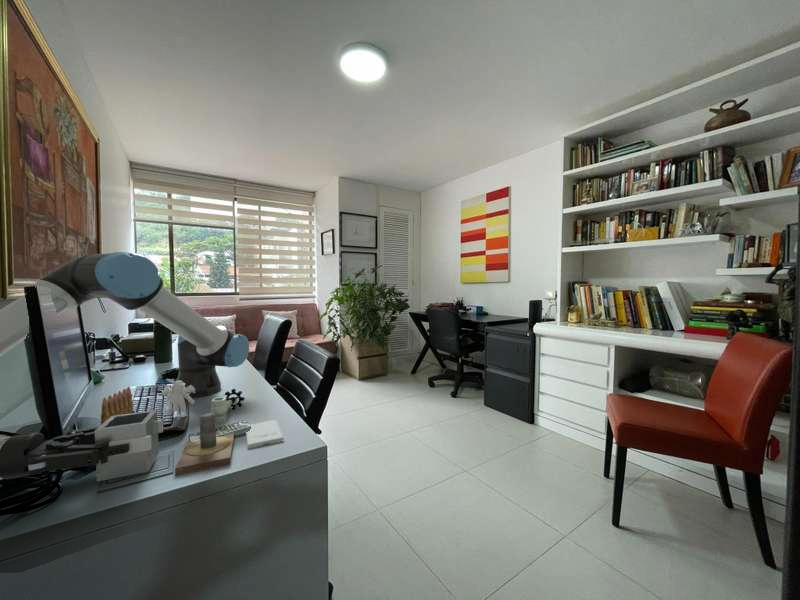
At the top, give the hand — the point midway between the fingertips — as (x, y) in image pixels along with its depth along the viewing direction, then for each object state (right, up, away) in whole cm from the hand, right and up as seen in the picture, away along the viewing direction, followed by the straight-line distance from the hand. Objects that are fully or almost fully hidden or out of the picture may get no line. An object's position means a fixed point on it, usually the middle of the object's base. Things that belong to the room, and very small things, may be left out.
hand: (156, 433), depth 69 cm
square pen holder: (-4, -6, -2) cm, 8 cm away
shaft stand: (+8, -7, +6) cm, 12 cm away
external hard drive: (+17, -7, +15) cm, 23 cm away
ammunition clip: (-21, -7, +14) cm, 26 cm away
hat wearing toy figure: (-14, -7, +28) cm, 32 cm away
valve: (0, -7, +28) cm, 29 cm away
